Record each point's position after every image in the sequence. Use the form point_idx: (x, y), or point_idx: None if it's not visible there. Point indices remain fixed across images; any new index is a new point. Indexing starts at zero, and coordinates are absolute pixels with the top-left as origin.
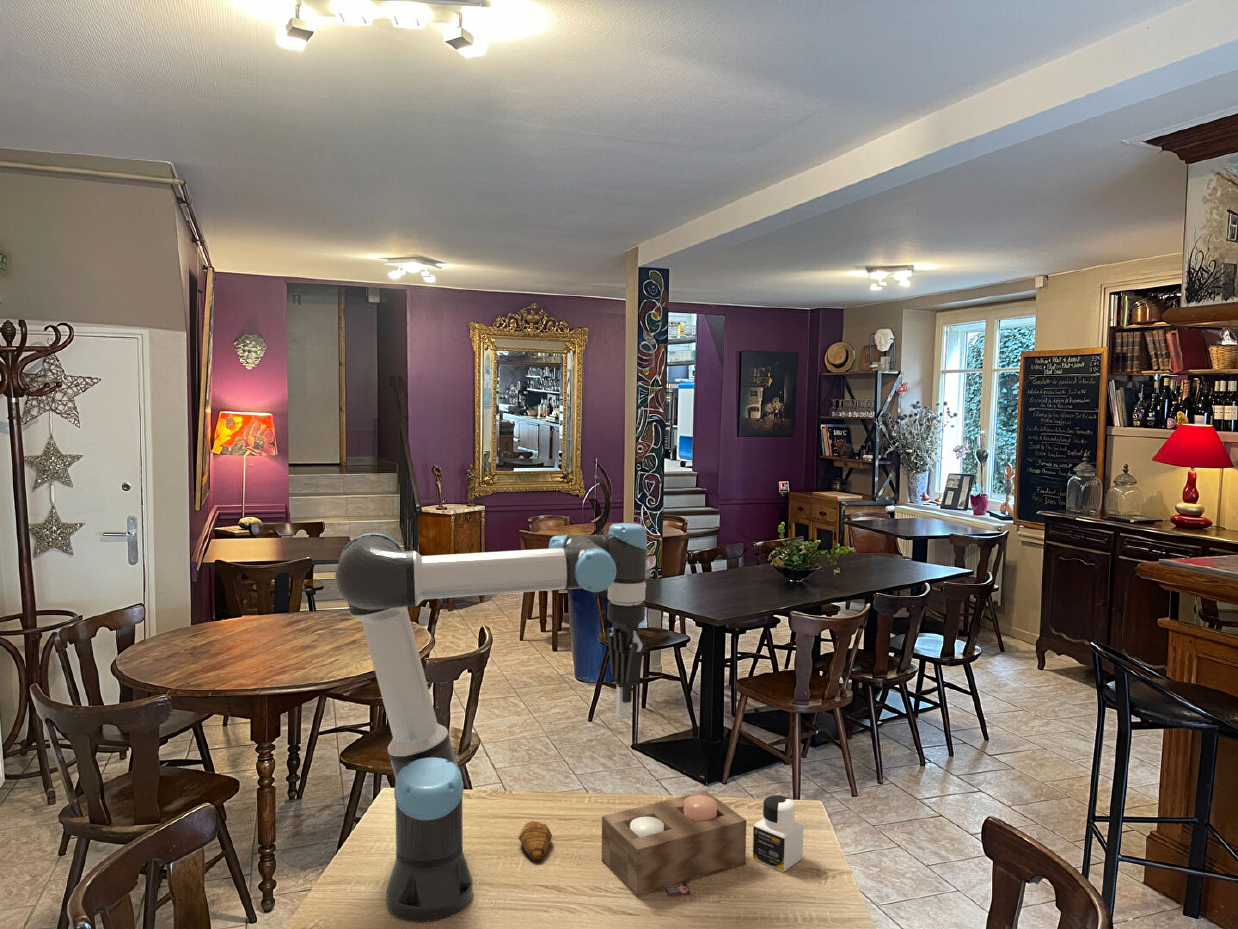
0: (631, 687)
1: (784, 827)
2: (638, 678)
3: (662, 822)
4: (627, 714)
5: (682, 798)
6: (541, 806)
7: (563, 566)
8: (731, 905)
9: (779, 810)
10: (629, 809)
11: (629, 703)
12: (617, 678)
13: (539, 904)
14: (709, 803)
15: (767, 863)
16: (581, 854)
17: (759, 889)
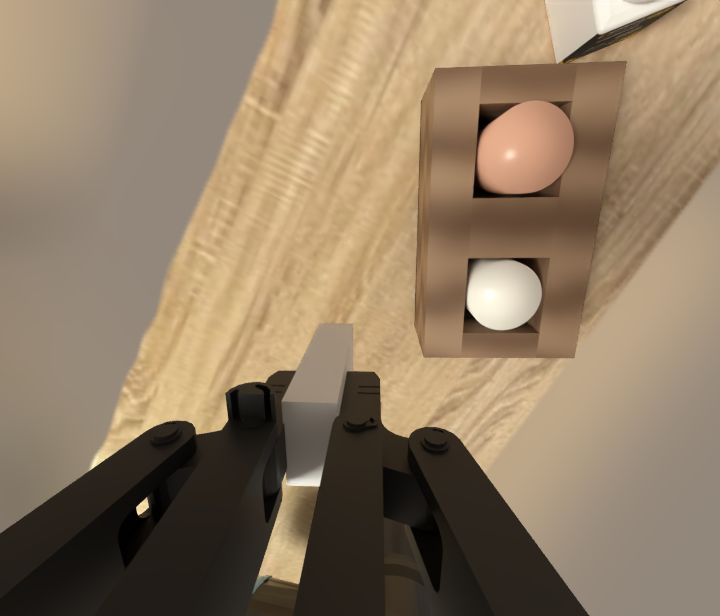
0: (383, 428)
1: None
2: (485, 483)
3: (515, 262)
4: (352, 346)
5: (441, 155)
6: (204, 336)
7: None
8: (643, 201)
9: None
10: (426, 296)
11: (348, 359)
12: (274, 517)
13: (470, 440)
14: (546, 126)
15: (596, 50)
16: (380, 343)
17: (641, 123)
